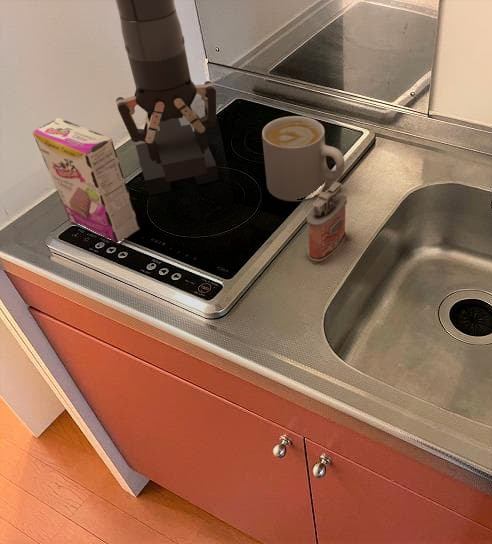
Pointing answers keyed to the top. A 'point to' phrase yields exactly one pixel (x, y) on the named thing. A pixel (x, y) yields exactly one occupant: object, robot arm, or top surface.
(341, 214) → the lighter
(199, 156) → the tab pad
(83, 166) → the candy bar box
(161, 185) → the notch mat
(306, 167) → the coffee mug
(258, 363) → the top surface
